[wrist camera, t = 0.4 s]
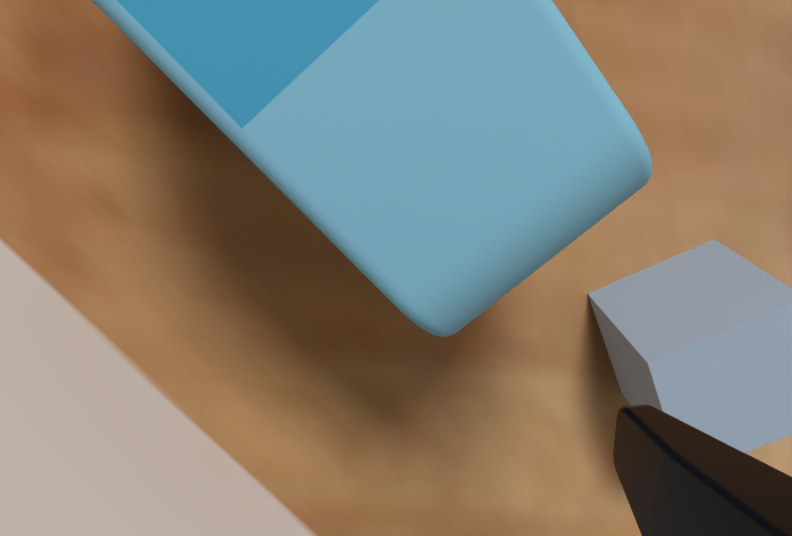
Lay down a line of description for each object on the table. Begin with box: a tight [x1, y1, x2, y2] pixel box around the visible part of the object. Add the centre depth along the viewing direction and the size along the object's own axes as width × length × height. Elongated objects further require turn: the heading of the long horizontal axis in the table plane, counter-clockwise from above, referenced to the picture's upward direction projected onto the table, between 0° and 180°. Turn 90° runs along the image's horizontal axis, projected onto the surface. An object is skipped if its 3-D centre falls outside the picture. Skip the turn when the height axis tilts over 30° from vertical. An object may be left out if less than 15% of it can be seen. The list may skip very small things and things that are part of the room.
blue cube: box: [588, 239, 792, 453], centre depth 23 cm, size 5×5×5 cm
